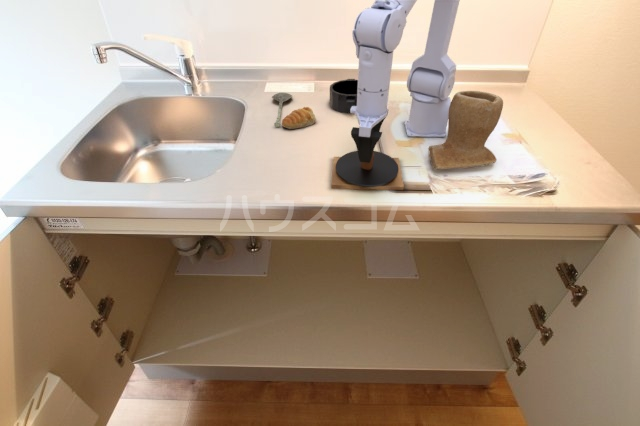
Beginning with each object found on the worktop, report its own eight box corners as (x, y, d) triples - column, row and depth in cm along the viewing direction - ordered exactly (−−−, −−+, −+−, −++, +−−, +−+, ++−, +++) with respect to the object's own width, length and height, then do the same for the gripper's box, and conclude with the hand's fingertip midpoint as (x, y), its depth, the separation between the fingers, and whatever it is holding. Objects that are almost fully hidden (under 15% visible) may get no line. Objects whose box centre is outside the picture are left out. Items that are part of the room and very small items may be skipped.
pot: (369, 93, 104) (371, 76, 101) (371, 117, 91) (373, 99, 87) (331, 93, 105) (331, 76, 102) (328, 117, 92) (327, 99, 88)
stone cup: (475, 143, 79) (495, 81, 69) (500, 170, 70) (528, 104, 60) (415, 148, 78) (428, 87, 68) (434, 176, 69) (451, 110, 59)
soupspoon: (294, 98, 105) (274, 99, 105) (292, 87, 103) (272, 89, 103) (289, 126, 88) (265, 128, 88) (287, 115, 86) (263, 117, 86)
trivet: (398, 161, 74) (398, 157, 73) (403, 190, 66) (404, 186, 65) (333, 160, 75) (333, 156, 75) (331, 188, 67) (331, 184, 66)
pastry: (290, 133, 85) (289, 120, 83) (277, 125, 89) (275, 112, 87) (318, 122, 90) (317, 109, 87) (303, 115, 94) (302, 102, 91)
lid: (379, 149, 76) (381, 131, 73) (410, 180, 67) (413, 161, 63) (326, 161, 73) (326, 143, 70) (350, 195, 64) (351, 176, 60)
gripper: (359, 71, 64) (356, 133, 73) (342, 100, 53) (341, 168, 62) (394, 73, 62) (387, 136, 71) (385, 104, 52) (377, 172, 61)
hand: (368, 151), depth 67 cm, fingers open, 7 cm apart
